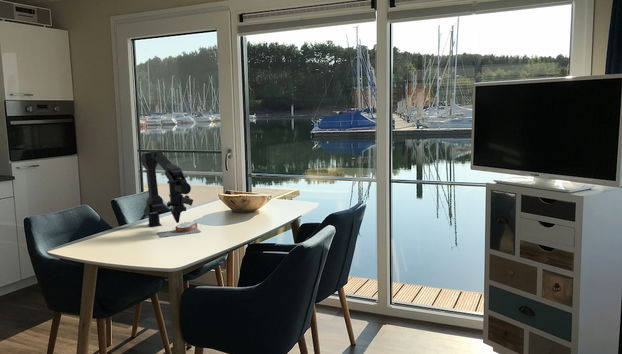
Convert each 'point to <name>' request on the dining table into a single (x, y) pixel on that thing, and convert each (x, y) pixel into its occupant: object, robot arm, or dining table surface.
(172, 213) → the robot arm
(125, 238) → the dining table surface
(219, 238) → the dining table surface
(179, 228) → the tin
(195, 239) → the dining table surface
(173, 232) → the mat
